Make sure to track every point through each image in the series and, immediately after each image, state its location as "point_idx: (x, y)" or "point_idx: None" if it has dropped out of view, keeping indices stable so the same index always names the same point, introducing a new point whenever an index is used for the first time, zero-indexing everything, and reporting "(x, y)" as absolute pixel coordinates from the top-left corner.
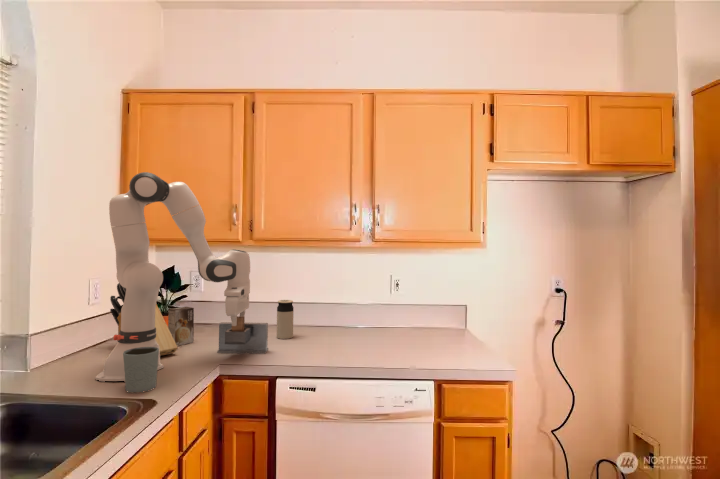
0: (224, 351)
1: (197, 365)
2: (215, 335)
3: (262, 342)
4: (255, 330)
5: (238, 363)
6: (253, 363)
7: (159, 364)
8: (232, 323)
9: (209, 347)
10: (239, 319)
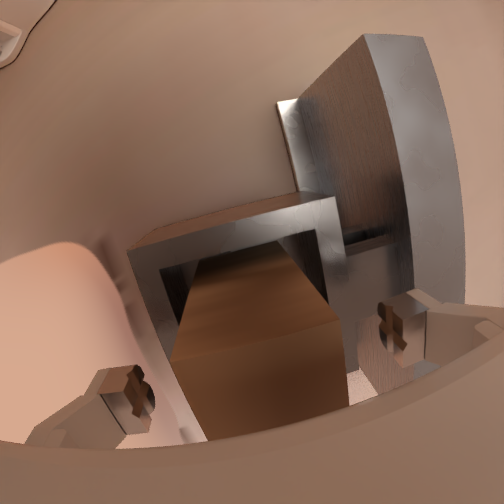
0: (287, 142)
1: (56, 154)
2: (490, 8)
3: (360, 355)
4: (390, 357)
5: (143, 317)
6: (170, 373)
7: (8, 44)
8: (95, 388)
9: (354, 23)
10: (209, 435)
